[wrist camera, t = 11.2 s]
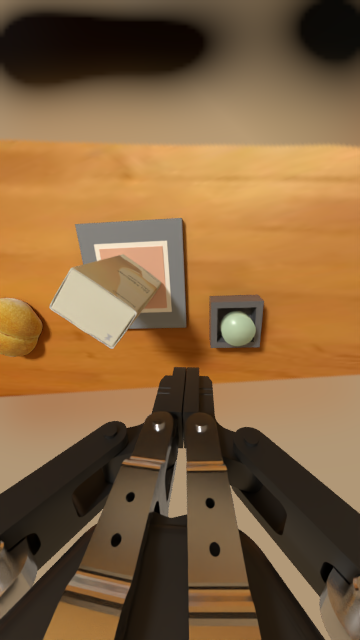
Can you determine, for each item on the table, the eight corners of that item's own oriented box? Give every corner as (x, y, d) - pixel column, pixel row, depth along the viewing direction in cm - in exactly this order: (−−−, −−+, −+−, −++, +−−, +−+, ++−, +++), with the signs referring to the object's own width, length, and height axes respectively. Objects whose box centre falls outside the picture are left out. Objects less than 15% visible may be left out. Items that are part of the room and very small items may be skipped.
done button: (253, 310, 27) (256, 315, 26) (250, 339, 29) (254, 345, 27) (220, 311, 28) (222, 316, 26) (220, 339, 29) (221, 346, 27)
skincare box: (163, 282, 29) (142, 315, 17) (145, 307, 30) (115, 352, 19) (120, 251, 27) (69, 264, 16) (104, 279, 29) (46, 309, 18)
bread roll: (51, 312, 33) (32, 322, 29) (34, 356, 36) (16, 371, 32) (-4, 284, 31) (-31, 291, 28) (-16, 332, 35) (-41, 344, 31)
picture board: (181, 218, 26) (181, 218, 26) (186, 325, 32) (186, 327, 31) (78, 224, 27) (74, 224, 27) (99, 327, 33) (96, 329, 32)
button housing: (257, 294, 29) (263, 300, 27) (254, 337, 32) (259, 347, 29) (209, 296, 30) (210, 302, 27) (209, 338, 32) (210, 347, 30)
